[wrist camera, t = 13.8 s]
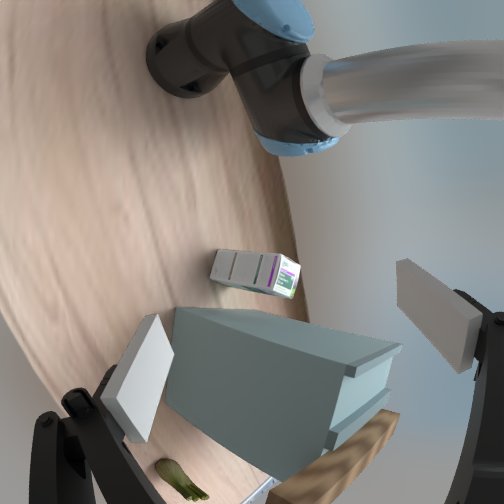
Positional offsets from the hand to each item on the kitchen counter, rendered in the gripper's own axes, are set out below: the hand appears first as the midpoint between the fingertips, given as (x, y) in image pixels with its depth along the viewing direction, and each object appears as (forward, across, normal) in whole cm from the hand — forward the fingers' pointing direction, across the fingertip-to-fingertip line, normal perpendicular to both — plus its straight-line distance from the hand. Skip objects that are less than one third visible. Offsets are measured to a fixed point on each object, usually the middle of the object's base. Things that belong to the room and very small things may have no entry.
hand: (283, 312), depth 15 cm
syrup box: (+38, -8, -10) cm, 41 cm away
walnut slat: (+8, +4, -27) cm, 29 cm away
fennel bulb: (+19, -28, -41) cm, 53 cm away
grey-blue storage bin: (+33, -14, -25) cm, 44 cm away
